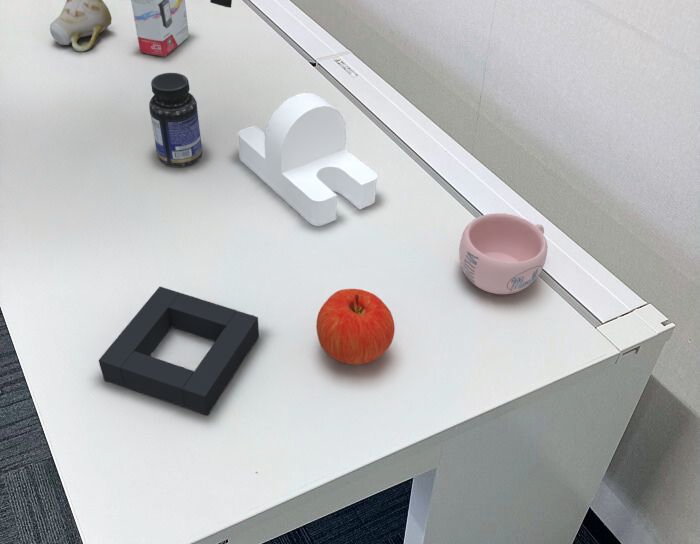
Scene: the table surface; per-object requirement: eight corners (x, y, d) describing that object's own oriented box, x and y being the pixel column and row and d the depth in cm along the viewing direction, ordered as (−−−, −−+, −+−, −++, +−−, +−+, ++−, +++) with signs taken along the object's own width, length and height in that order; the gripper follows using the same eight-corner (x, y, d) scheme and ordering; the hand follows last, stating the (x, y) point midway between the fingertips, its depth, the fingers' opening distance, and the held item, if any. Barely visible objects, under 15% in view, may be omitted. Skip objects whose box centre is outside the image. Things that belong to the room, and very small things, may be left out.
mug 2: (496, 317, 87) (506, 278, 83) (437, 269, 92) (444, 230, 88) (566, 276, 93) (579, 238, 88) (507, 233, 98) (516, 195, 93)
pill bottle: (209, 148, 107) (201, 73, 99) (193, 172, 103) (184, 96, 95) (167, 140, 108) (156, 66, 100) (149, 164, 104) (137, 88, 96)
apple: (300, 351, 82) (300, 296, 76) (350, 313, 87) (354, 259, 81) (356, 391, 79) (360, 337, 73) (405, 350, 83) (413, 296, 77)
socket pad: (103, 379, 78) (98, 360, 76) (163, 305, 86) (159, 286, 84) (207, 415, 76) (205, 396, 74) (259, 336, 83) (258, 316, 81)
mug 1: (39, 44, 126) (42, -22, 123) (92, 54, 133) (96, -8, 130) (64, 48, 121) (67, -21, 118) (117, 58, 129) (122, -6, 126)
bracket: (236, 156, 106) (230, 79, 98) (296, 134, 111) (296, 59, 102) (315, 228, 97) (317, 149, 88) (378, 201, 101) (386, 124, 93)
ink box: (164, 59, 124) (154, -17, 115) (137, 52, 125) (125, -23, 116) (191, 36, 130) (183, -37, 121) (164, 30, 131) (155, -43, 122)
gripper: (308, -199, 81) (280, 16, 88) (141, -193, 93) (127, -4, 99) (264, -231, 75) (237, 3, 82) (91, -221, 87) (80, -17, 93)
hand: (177, 0), depth 91 cm, fingers open, 13 cm apart
